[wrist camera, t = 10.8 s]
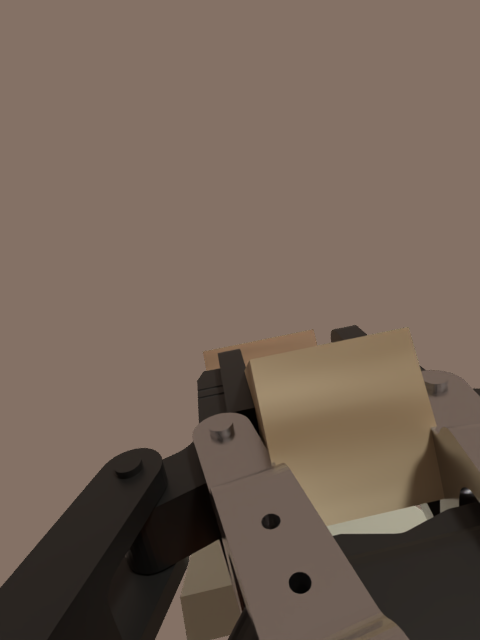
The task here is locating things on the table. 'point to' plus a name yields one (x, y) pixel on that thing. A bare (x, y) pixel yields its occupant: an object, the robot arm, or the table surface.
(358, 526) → the stand
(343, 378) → the mallet
